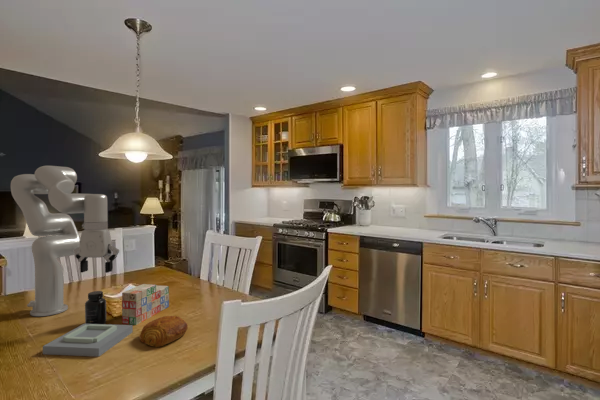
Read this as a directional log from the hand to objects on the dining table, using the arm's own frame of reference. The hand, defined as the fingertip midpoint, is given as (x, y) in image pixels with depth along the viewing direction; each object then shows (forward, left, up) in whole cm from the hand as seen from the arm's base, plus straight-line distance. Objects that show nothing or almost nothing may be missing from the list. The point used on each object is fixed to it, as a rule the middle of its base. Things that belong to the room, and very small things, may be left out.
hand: (96, 271), depth 125 cm
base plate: (+9, -15, -20) cm, 26 cm away
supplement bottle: (0, 0, -20) cm, 20 cm away
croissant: (+31, -9, -20) cm, 38 cm away
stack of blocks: (+14, +11, -20) cm, 27 cm away
